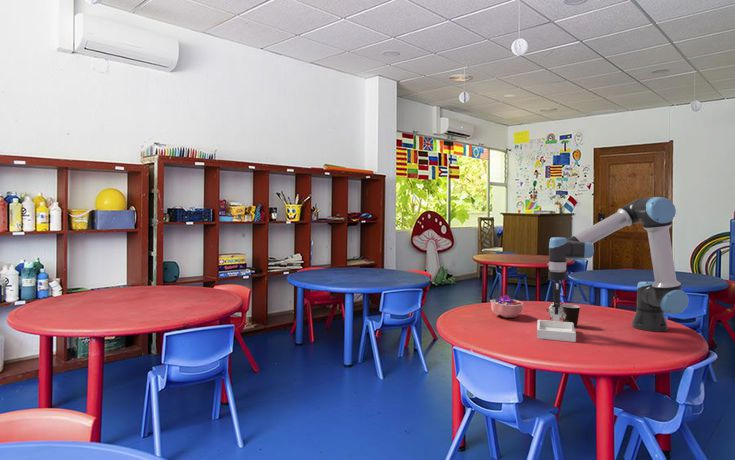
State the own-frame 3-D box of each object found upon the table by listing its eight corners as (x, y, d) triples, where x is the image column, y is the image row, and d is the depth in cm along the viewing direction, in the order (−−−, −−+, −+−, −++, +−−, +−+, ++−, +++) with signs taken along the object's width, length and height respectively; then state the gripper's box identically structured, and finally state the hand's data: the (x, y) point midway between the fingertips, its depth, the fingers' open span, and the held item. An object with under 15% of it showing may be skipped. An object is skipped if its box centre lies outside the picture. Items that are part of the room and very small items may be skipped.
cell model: (492, 320, 254) (493, 299, 253) (488, 312, 274) (488, 292, 273) (526, 321, 252) (526, 300, 251) (519, 313, 272) (519, 293, 271)
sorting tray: (572, 330, 234) (573, 322, 233) (575, 342, 214) (575, 333, 214) (537, 327, 239) (537, 319, 239) (537, 338, 219) (537, 329, 219)
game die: (558, 326, 227) (571, 309, 227) (557, 323, 220) (570, 306, 220) (542, 315, 232) (554, 298, 232) (540, 312, 224) (553, 295, 225)
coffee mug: (581, 328, 238) (581, 308, 238) (562, 327, 240) (563, 307, 239) (576, 323, 249) (576, 303, 249) (558, 322, 251) (558, 302, 251)
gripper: (548, 267, 237) (547, 313, 238) (548, 273, 216) (547, 323, 217) (564, 268, 234) (563, 314, 235) (567, 274, 213) (565, 324, 214)
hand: (555, 318), depth 226 cm, fingers closed on game die, 10 cm apart
